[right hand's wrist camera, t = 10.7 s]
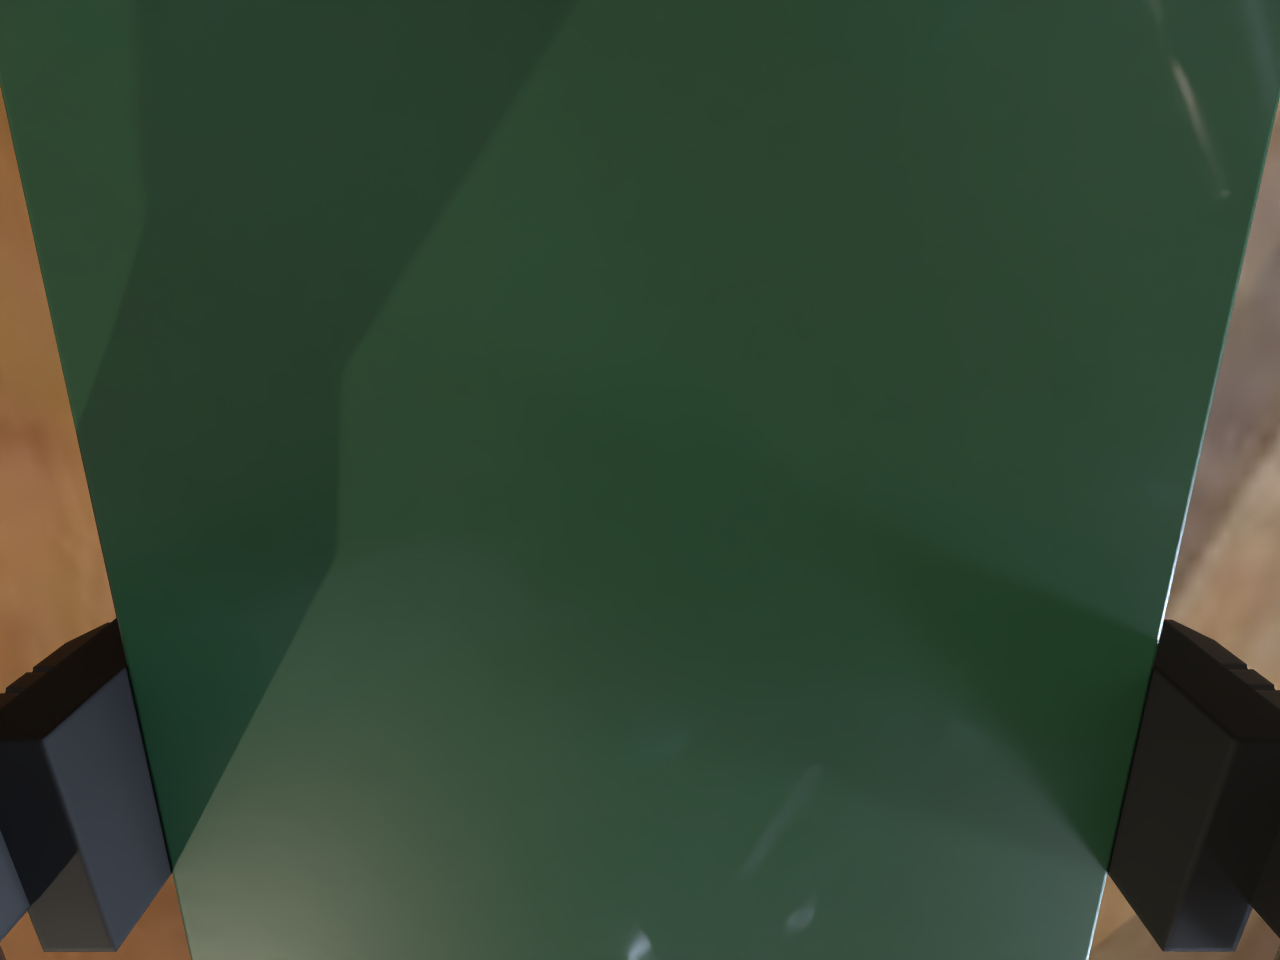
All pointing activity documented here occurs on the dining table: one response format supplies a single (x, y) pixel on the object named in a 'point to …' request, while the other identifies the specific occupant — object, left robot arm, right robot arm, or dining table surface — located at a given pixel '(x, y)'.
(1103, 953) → the dining table surface
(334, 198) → the cabinet
